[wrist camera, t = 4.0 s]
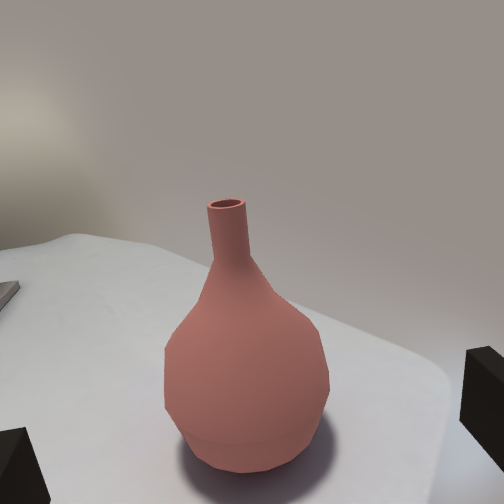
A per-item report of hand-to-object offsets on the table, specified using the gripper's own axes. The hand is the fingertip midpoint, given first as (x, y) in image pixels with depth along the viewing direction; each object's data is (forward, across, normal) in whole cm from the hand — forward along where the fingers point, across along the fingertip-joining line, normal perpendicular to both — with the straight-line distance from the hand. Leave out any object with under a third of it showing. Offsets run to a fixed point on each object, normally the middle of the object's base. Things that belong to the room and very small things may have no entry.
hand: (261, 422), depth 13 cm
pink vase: (+7, 0, -7) cm, 10 cm away
